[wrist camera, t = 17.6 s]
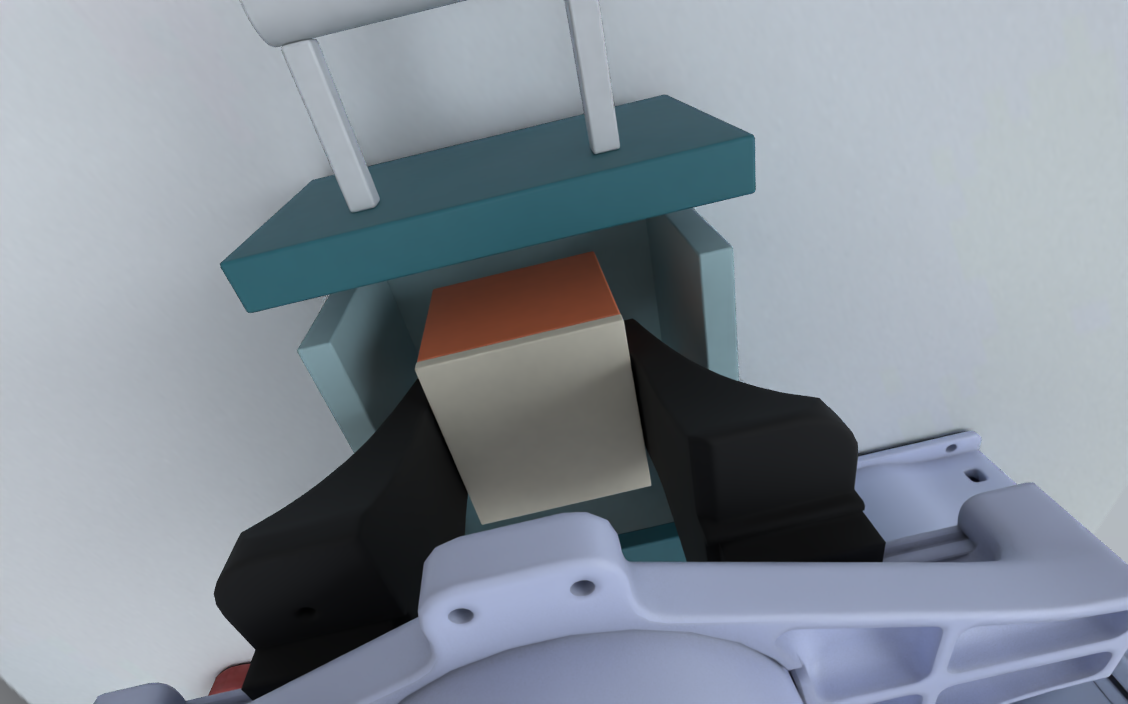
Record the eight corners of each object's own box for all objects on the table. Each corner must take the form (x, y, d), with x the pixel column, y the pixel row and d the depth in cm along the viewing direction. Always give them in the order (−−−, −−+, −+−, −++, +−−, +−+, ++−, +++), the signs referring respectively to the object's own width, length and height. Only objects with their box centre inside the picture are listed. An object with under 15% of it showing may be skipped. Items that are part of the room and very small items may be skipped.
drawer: (227, -2, 14) (51, -14, 8) (647, -107, 14) (752, -190, 8) (441, 469, 23) (424, 614, 17) (697, 409, 23) (762, 537, 17)
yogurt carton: (621, 394, 17) (651, 486, 14) (483, 426, 17) (481, 525, 14) (593, 249, 15) (624, 319, 11) (431, 288, 15) (413, 369, 11)
